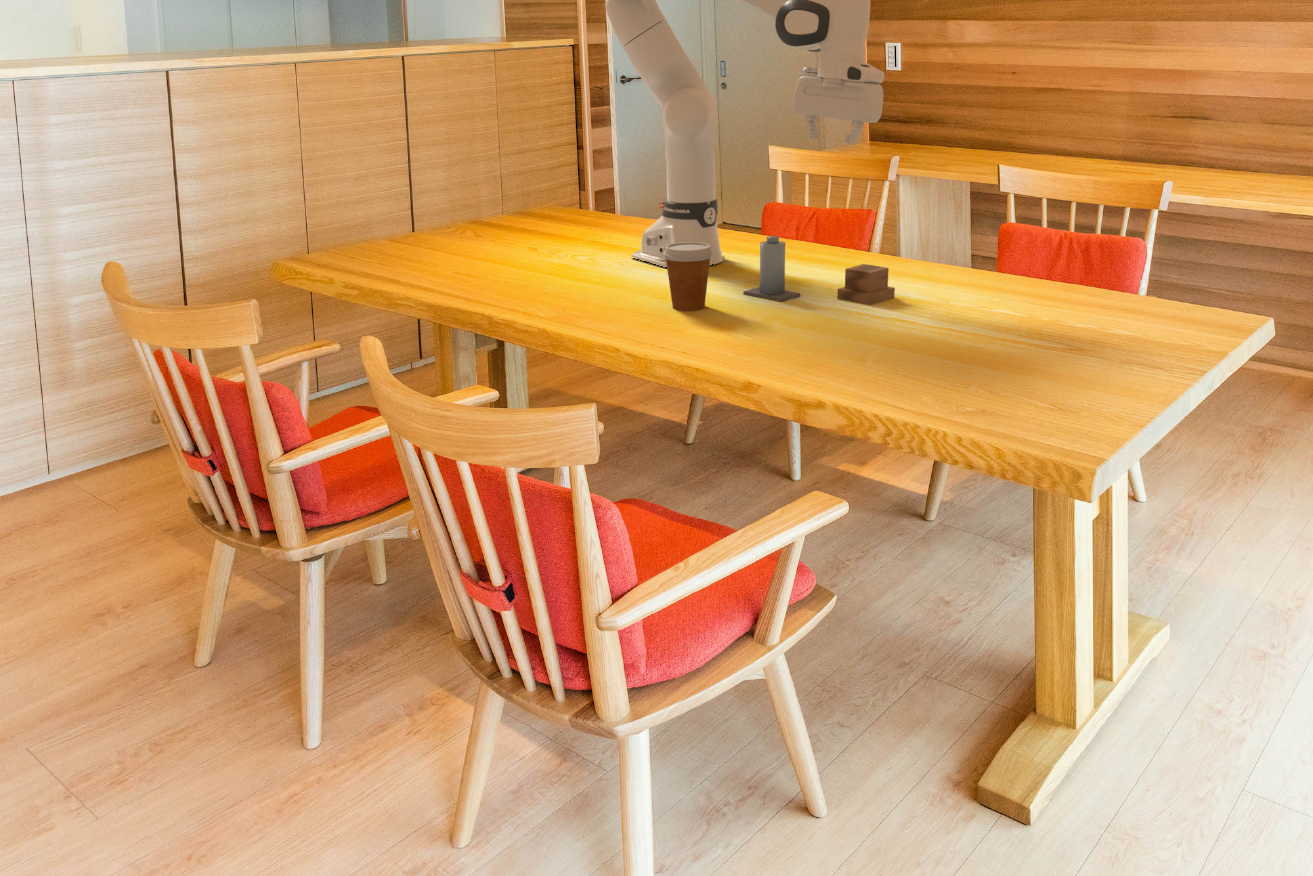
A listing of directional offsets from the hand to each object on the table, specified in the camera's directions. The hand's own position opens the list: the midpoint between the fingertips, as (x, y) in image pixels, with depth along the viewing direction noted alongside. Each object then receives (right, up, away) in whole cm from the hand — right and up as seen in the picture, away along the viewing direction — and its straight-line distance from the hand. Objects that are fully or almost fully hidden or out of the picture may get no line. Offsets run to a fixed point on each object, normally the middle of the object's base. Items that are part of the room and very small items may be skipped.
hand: (831, 141), depth 230 cm
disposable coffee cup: (-29, -34, -6) cm, 45 cm away
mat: (-12, -31, +1) cm, 33 cm away
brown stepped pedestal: (+6, -32, -3) cm, 33 cm away
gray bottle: (-12, -30, +1) cm, 33 cm away
